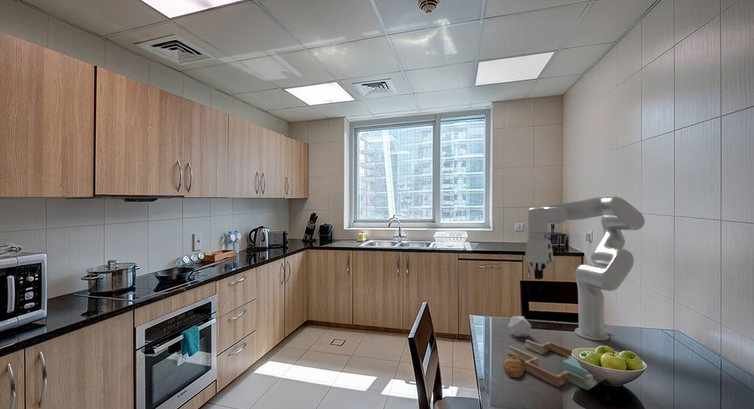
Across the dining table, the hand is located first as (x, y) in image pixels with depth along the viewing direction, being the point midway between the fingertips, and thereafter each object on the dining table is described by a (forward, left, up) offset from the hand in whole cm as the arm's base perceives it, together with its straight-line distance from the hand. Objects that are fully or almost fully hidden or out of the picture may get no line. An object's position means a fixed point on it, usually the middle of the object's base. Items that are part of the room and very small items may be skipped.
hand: (538, 278), depth 134 cm
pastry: (+30, +9, -28) cm, 42 cm away
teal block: (+16, +24, -27) cm, 40 cm away
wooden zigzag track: (+15, +14, -27) cm, 34 cm away
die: (+1, -9, -27) cm, 29 cm away
